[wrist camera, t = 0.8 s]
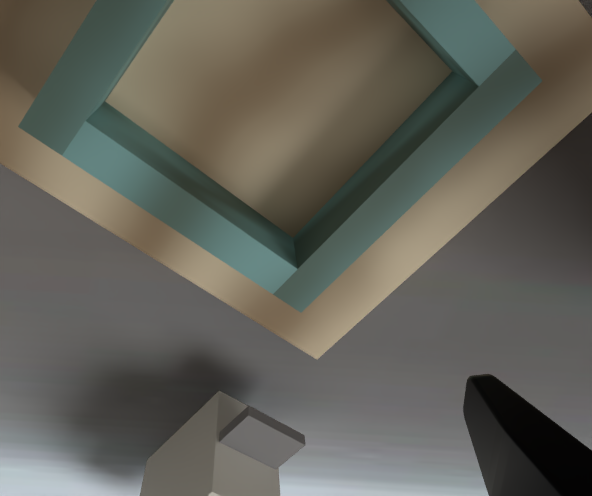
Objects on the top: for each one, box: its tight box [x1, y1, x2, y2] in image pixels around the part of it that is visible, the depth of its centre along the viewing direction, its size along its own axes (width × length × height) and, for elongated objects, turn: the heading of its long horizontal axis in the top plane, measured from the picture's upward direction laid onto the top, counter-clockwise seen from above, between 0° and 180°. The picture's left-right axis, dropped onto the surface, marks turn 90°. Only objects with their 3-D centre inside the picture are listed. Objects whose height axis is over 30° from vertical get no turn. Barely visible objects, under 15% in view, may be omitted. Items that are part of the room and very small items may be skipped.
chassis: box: [0, 0, 592, 359], centre depth 18 cm, size 20×18×4 cm
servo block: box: [140, 391, 305, 496], centre depth 26 cm, size 4×12×7 cm, turn 139°
